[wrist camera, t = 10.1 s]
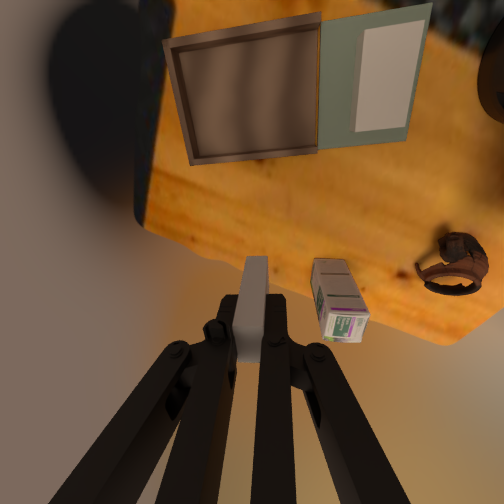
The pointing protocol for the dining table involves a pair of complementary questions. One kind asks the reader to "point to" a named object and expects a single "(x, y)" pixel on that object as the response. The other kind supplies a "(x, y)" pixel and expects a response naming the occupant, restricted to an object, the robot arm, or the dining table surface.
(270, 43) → the walnut box
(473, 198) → the dining table surface
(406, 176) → the dining table surface
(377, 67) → the light grey block
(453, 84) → the dining table surface
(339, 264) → the syrup box
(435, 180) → the dining table surface
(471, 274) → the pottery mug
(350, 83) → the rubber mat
